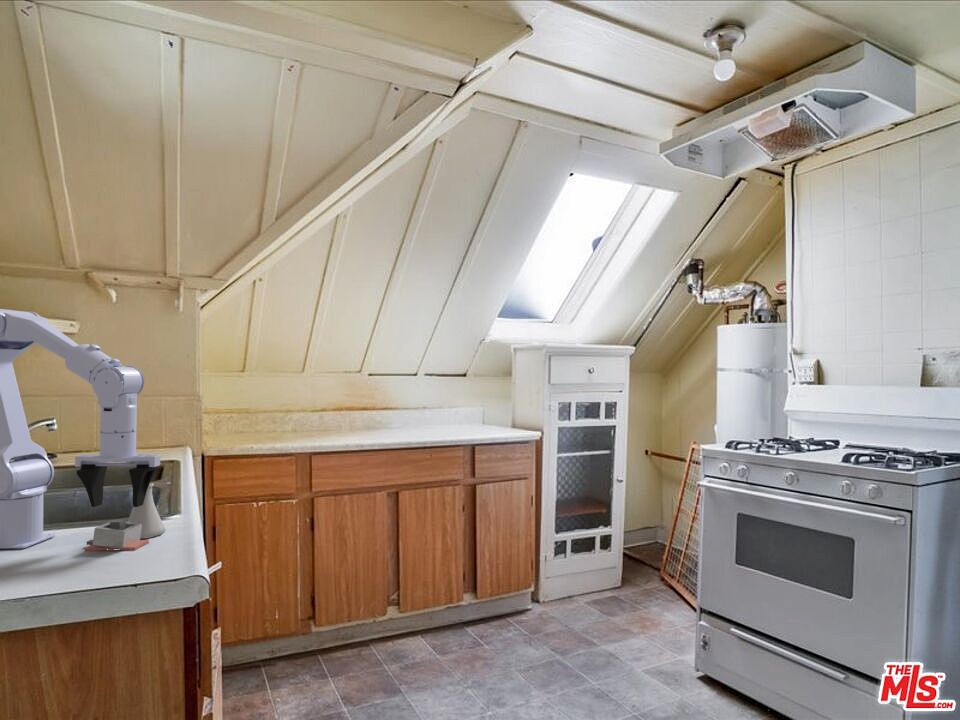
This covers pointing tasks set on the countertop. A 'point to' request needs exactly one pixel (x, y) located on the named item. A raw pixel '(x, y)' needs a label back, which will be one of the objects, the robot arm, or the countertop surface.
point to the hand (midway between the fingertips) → (117, 505)
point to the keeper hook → (113, 525)
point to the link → (117, 535)
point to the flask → (147, 516)
